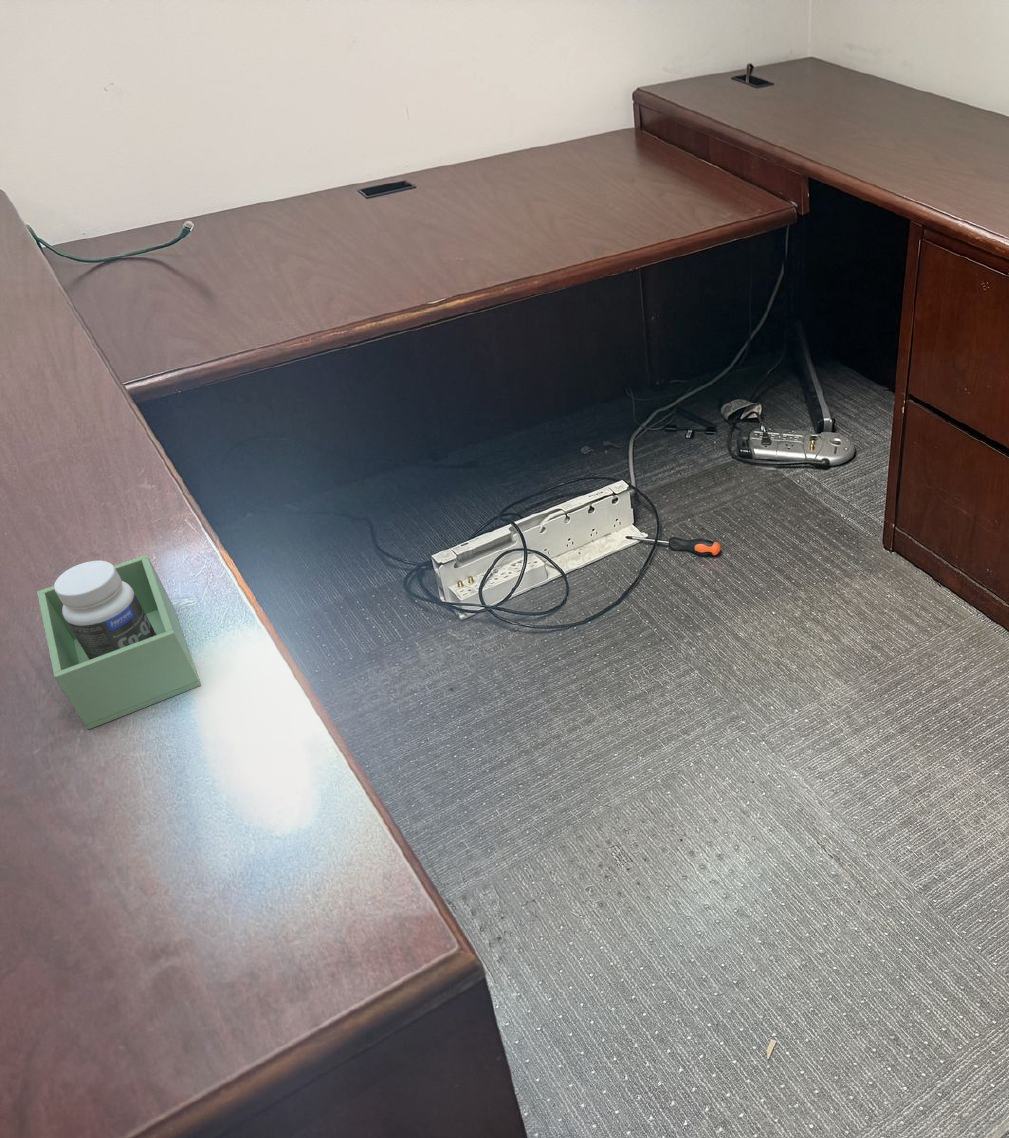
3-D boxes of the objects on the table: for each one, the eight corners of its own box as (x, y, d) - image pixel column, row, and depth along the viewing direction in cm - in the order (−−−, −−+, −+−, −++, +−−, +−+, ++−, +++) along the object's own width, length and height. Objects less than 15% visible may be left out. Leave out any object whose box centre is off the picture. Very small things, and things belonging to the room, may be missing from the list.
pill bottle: (146, 682, 78) (99, 599, 73) (85, 682, 78) (33, 599, 73) (175, 638, 82) (131, 556, 76) (116, 638, 82) (69, 556, 76)
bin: (201, 685, 78) (173, 632, 75) (88, 730, 75) (54, 677, 72) (173, 605, 86) (146, 554, 82) (68, 643, 82) (36, 591, 79)
